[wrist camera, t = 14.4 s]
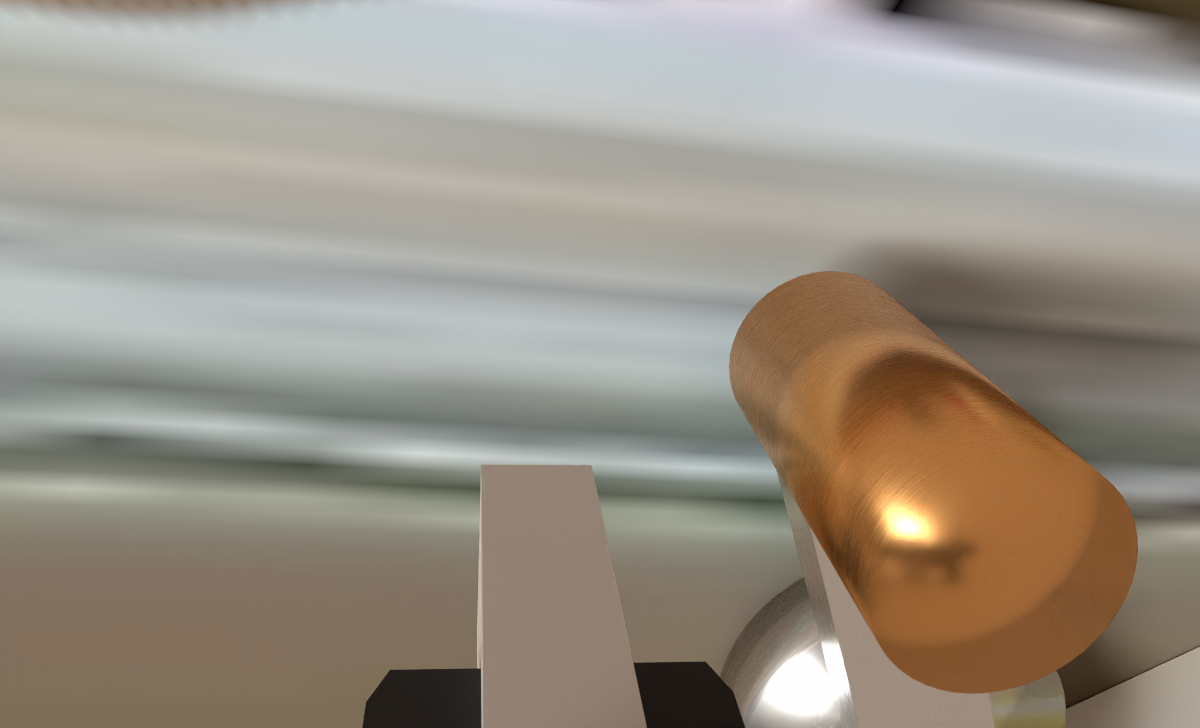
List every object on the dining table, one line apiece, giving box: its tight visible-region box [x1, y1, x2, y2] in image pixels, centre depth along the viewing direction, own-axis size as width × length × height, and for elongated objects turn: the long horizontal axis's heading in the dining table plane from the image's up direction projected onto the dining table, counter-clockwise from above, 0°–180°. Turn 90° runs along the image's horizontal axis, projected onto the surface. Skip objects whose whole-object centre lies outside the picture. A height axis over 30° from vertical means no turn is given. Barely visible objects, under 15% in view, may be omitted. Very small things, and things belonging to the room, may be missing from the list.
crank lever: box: [729, 271, 1138, 728], centre depth 21 cm, size 16×4×8 cm, turn 16°
